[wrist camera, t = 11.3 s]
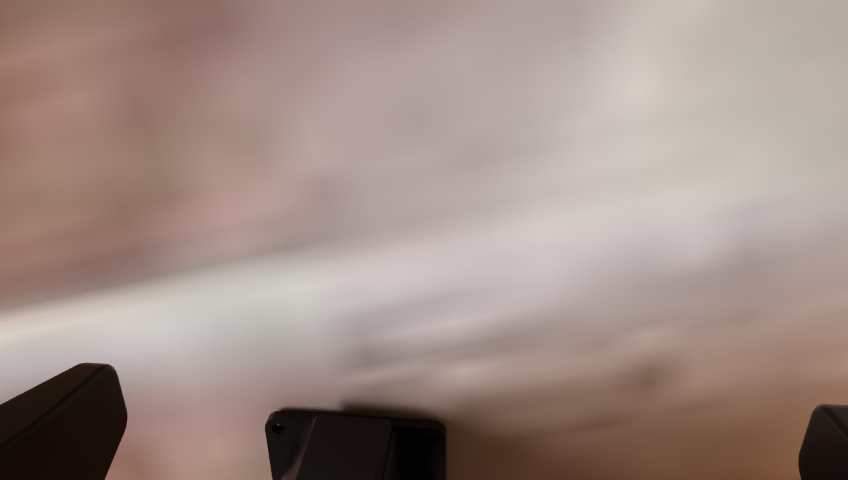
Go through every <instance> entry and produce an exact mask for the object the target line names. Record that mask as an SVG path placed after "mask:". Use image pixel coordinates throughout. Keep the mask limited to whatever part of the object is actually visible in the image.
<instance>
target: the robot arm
mask: <svg viewBox="0 0 848 480" xmlns="http://www.w3.org/2000/svg"><path fill="white" fill-rule="evenodd" d="M277 424H281V425H283V426H284V427H280V426H278V425H277ZM126 425H127V409H126V405H125V401H124V397H123V394H122V390H121V386H120V382H119V378H118V375H117V372H116V370H115V369H114V367H113V366H111V365H109V364H98V363H81V364H78V365H76V366H74V367H72V368H70V369H68V370H66V371H64V372H62V373H61V374H59V375H57V376H55V377H53V378H51V379H49V380H47V381H45V382H43V383H41V384H39V385H37V386H36V387H34V388H32V389H30V390H28V391H26V392H24V393H22V394H20V395H18V396H16V397H14V398H12V399H10V400H9V401H7V402H5V403H3V404H1V405H0V480H105V477H106V475H107V473H108V470H109V468H110V465H111V463H112V461H113V458H114V456H115V453H116V451H117V449H118V446H119V444H120V441H121V439H122V436H123V434H124V432H125V429H126ZM265 432H266V438H267V445H268V452H269V459H270V466H271V472H272V479H273V480H446V475H447V431H446V427H445V426H444V425H443V424H442V423H440V422H438V421H434V420H420V419H404V418H388V417H371V416H355V415H339V414H322V413H306V412H289V411H275V412H273V413H271V414H270V416H269V417H268V420H267V422H266V424H265ZM431 433H432V434H436V435H437V436H434V437H432V436H429V435H428V434H431ZM798 462H799V472H800V476H801V480H848V405H833V404H821V405H818V406H817V407H816V408H815V409H814V410H813V412H812V415H811V418H810V421H809V424H808V427H807V430H806V433H805V437H804V440H803V443H802V446H801V449H800V453H799V460H798Z"/></svg>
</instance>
